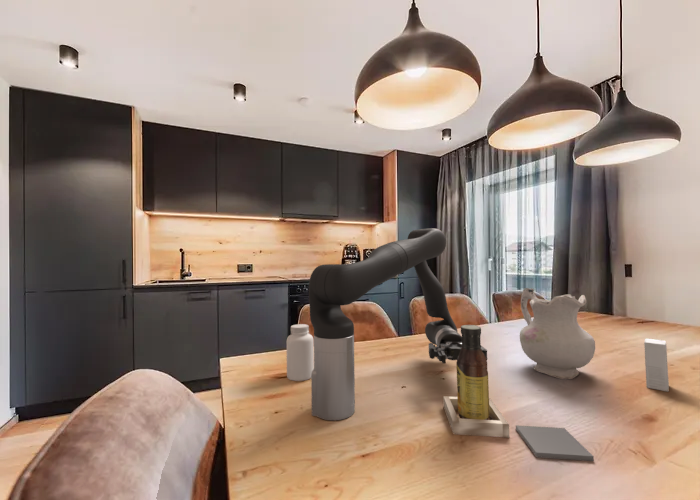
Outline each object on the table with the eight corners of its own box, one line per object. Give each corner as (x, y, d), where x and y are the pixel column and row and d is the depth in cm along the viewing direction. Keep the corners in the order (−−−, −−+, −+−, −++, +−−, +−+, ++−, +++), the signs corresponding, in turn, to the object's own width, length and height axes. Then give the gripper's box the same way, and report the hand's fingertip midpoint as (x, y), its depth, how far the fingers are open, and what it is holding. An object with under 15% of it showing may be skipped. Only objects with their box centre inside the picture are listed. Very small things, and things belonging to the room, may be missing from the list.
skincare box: (646, 381, 87) (644, 337, 87) (668, 385, 84) (666, 340, 84) (645, 387, 82) (643, 341, 83) (669, 392, 79) (666, 344, 80)
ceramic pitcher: (501, 368, 101) (496, 292, 101) (535, 354, 111) (530, 284, 111) (577, 392, 83) (570, 298, 82) (609, 373, 92) (603, 289, 92)
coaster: (536, 457, 54) (536, 452, 54) (515, 429, 62) (515, 425, 63) (593, 461, 52) (593, 456, 52) (564, 432, 61) (564, 428, 61)
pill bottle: (281, 377, 92) (281, 325, 93) (302, 370, 98) (302, 322, 99) (297, 384, 87) (297, 329, 88) (319, 376, 93) (319, 325, 93)
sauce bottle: (464, 410, 70) (462, 322, 71) (493, 419, 66) (491, 325, 67) (453, 422, 65) (450, 326, 66) (484, 432, 61) (481, 330, 62)
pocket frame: (453, 434, 61) (452, 420, 61) (443, 407, 72) (443, 396, 72) (509, 437, 60) (509, 424, 60) (490, 409, 71) (490, 398, 71)
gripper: (424, 329, 92) (431, 343, 76) (475, 330, 90) (493, 345, 74) (425, 355, 92) (432, 374, 76) (475, 356, 90) (494, 377, 74)
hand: (462, 359), depth 75 cm, fingers open, 8 cm apart
